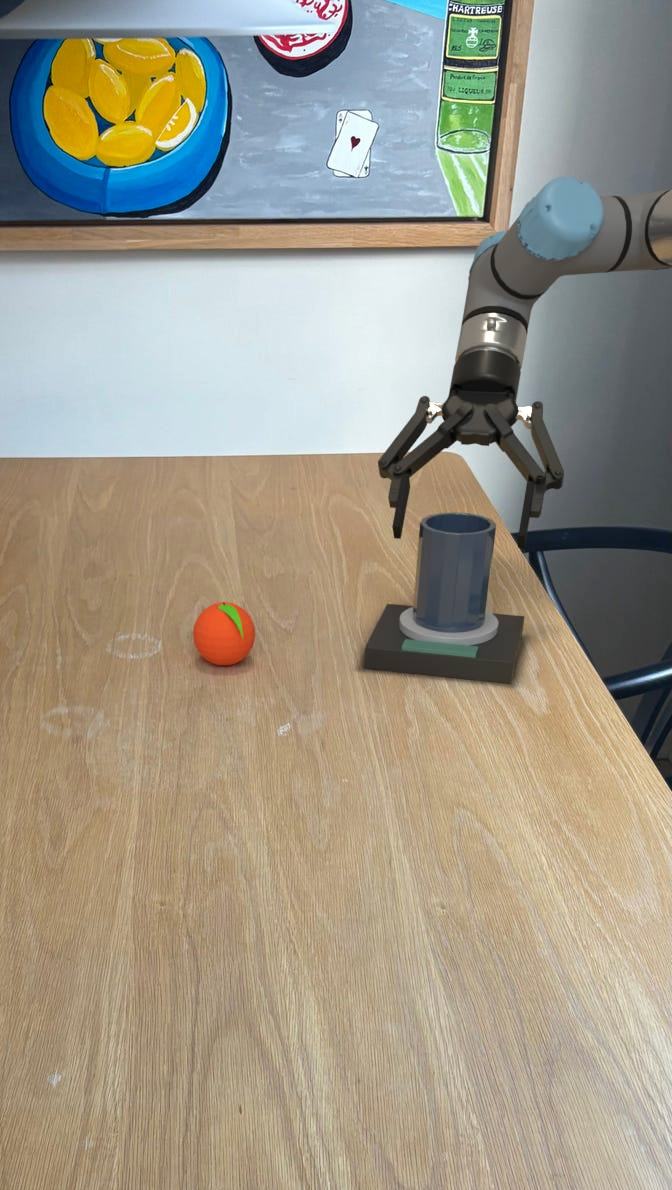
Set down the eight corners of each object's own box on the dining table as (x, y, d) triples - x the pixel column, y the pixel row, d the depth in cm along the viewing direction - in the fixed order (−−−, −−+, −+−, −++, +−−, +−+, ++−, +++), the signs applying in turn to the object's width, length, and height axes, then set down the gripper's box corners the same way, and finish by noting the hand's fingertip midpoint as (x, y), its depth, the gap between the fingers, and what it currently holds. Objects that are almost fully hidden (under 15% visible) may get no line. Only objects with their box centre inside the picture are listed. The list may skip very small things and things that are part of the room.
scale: (522, 636, 143) (525, 607, 141) (510, 683, 132) (514, 653, 130) (385, 623, 147) (387, 595, 145) (363, 668, 136) (365, 638, 134)
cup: (488, 610, 141) (499, 515, 135) (480, 635, 134) (491, 537, 128) (418, 604, 143) (426, 510, 137) (407, 628, 136) (415, 531, 131)
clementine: (270, 671, 136) (271, 610, 132) (215, 683, 133) (214, 621, 129) (237, 646, 142) (237, 587, 138) (183, 658, 139) (181, 598, 136)
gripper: (375, 342, 139) (342, 512, 134) (605, 350, 132) (578, 528, 128) (380, 382, 146) (349, 544, 141) (599, 391, 139) (573, 562, 135)
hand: (458, 537), depth 135 cm, fingers open, 13 cm apart
